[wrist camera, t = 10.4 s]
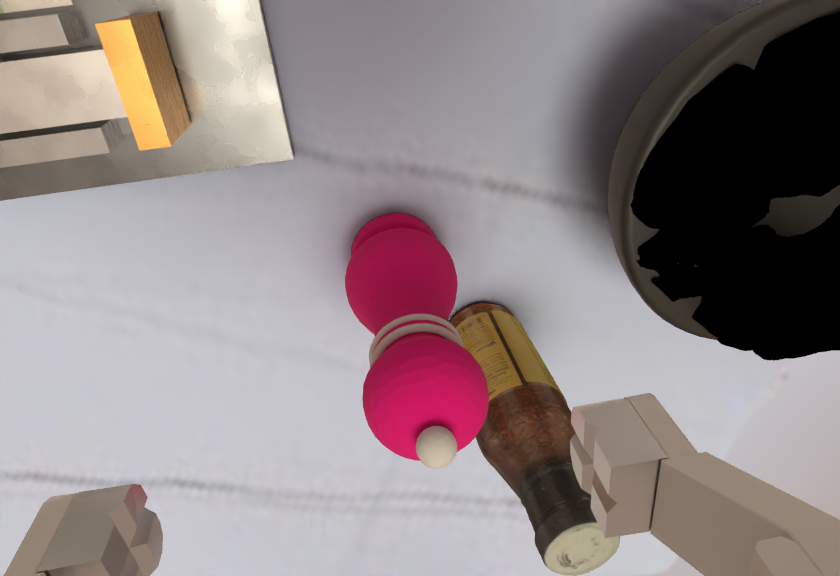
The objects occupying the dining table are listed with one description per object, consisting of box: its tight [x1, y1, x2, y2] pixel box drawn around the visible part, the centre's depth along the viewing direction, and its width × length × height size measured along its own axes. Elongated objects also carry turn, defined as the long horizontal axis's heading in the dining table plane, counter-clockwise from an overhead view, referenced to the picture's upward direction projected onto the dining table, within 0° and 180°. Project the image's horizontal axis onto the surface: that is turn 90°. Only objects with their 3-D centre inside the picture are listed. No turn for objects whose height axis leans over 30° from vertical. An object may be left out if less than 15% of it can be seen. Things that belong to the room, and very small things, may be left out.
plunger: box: [0, 12, 191, 151], centre depth 29 cm, size 9×11×5 cm
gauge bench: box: [0, 0, 294, 201], centre depth 30 cm, size 12×20×7 cm, turn 96°
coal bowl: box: [608, 0, 840, 360], centre depth 32 cm, size 20×20×19 cm
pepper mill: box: [345, 213, 489, 469], centre depth 33 cm, size 7×7×20 cm
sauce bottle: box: [449, 303, 620, 576], centre depth 37 cm, size 6×6×20 cm
